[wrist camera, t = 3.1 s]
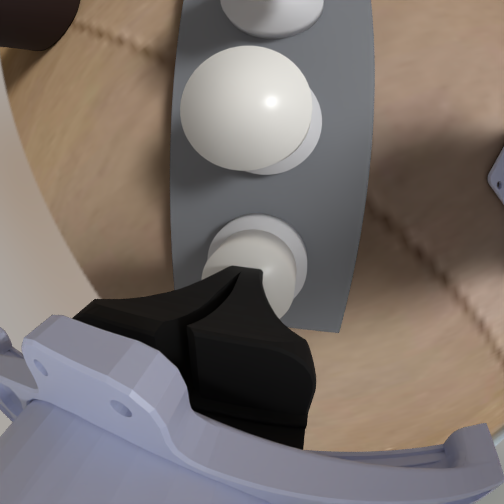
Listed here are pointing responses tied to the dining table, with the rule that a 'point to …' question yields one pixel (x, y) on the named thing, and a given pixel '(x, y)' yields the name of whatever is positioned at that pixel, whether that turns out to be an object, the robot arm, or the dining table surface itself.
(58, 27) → the bottle
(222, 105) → the knob
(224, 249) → the knob
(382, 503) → the robot arm
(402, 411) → the dining table surface
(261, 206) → the knob panel
